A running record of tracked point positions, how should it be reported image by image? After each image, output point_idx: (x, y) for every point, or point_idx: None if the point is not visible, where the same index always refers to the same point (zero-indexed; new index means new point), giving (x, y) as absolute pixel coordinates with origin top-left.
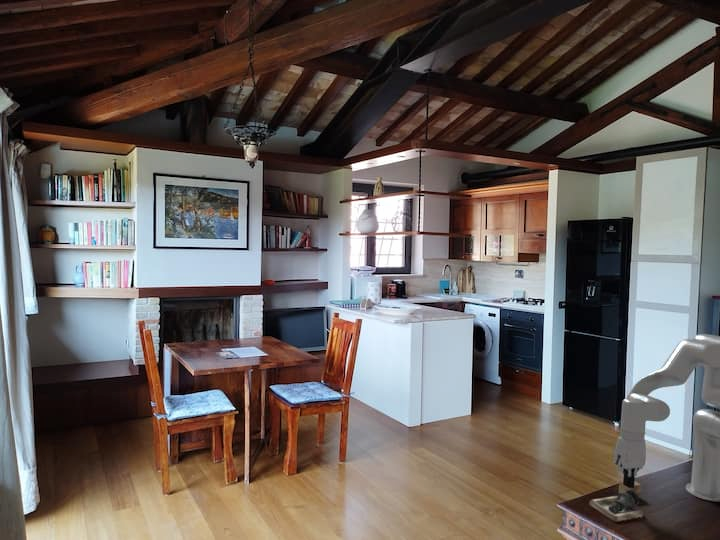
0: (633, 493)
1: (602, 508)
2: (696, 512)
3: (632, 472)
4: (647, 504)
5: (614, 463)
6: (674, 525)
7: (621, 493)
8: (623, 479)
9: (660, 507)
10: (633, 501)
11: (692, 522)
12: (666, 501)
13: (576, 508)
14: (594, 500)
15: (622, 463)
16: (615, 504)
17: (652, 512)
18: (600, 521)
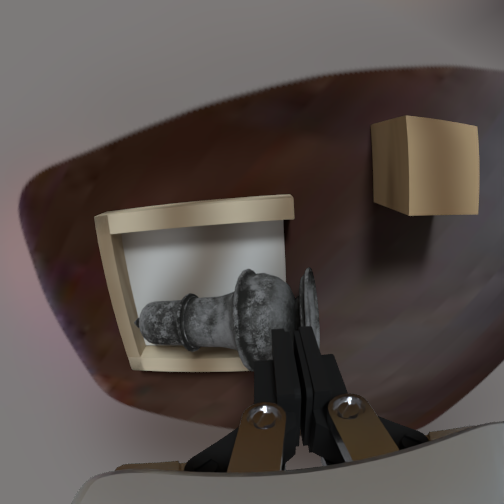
0: None
1: (112, 303)
2: (497, 336)
3: (333, 456)
4: (415, 263)
5: (94, 482)
6: None
7: (234, 323)
8: (273, 352)
9: (439, 295)
10: None
11: (431, 390)
12: (494, 256)
13: (42, 231)
14: (114, 225)
15: None
16: (163, 337)
17: (372, 327)
18: (87, 337)
